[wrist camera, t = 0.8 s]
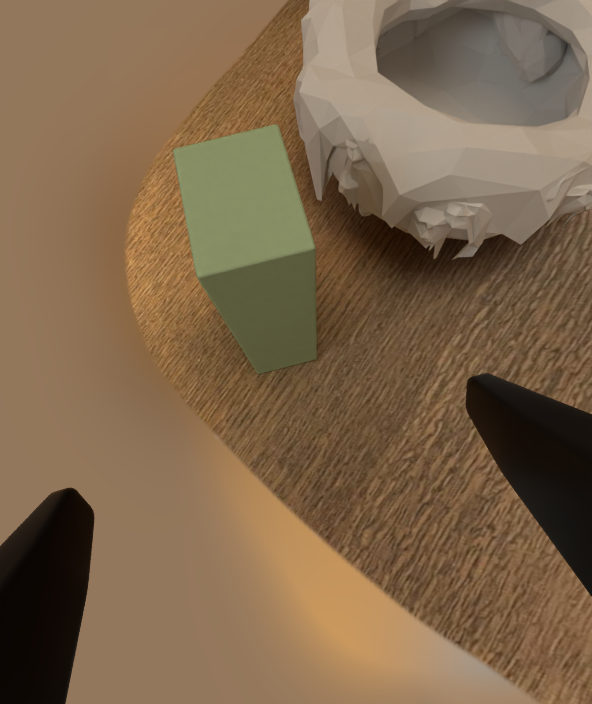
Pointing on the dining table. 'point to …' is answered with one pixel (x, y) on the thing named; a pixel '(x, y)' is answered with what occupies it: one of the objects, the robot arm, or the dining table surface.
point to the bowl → (450, 112)
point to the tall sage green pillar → (252, 243)
